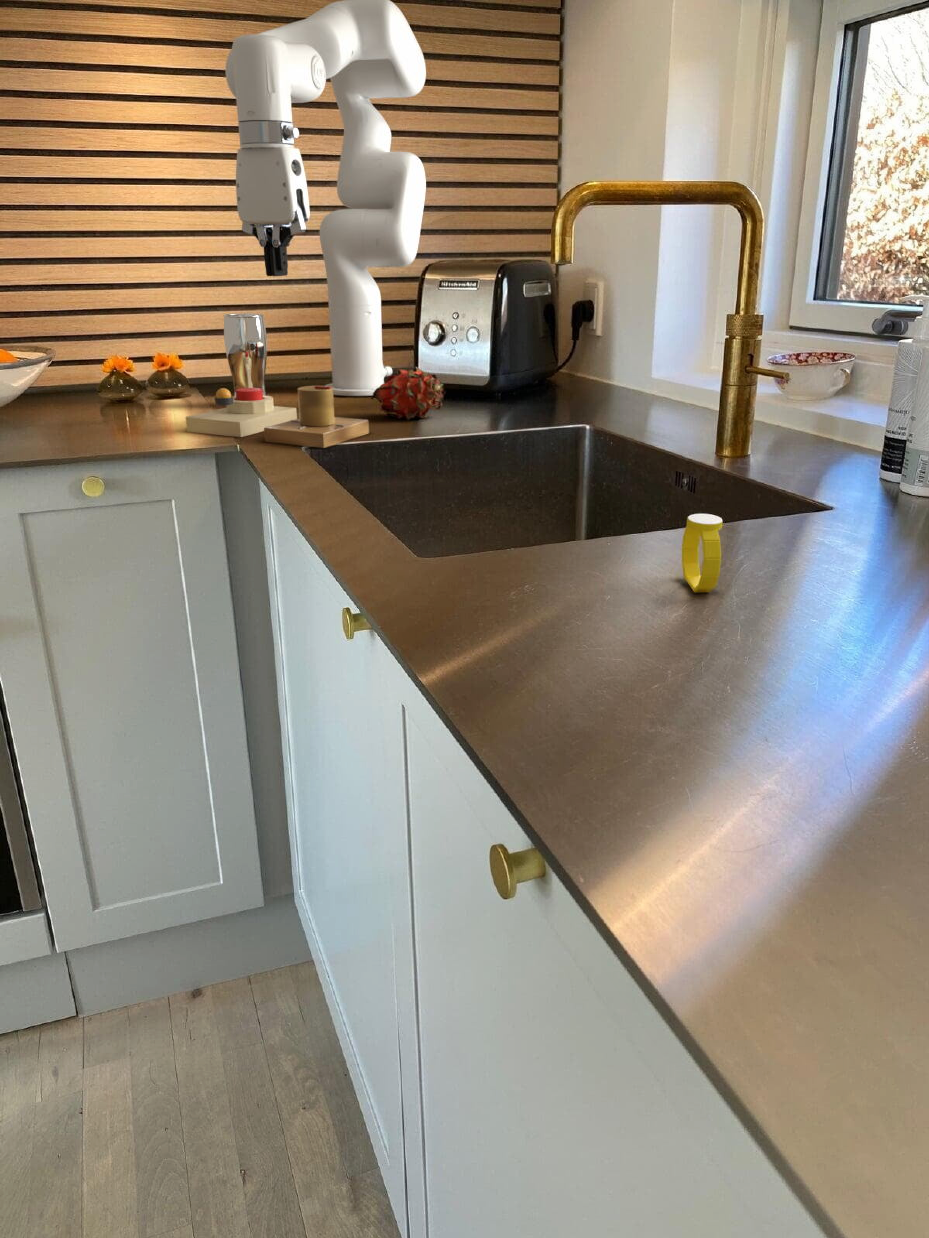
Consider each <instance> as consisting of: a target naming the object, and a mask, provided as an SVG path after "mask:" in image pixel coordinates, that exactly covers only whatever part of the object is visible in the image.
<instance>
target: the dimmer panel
mask: <svg viewBox="0 0 929 1238" xmlns="http://www.w3.org/2000/svg"><path fill="white" fill-rule="evenodd" d="M334 417H335V423H334V424H332V425H328V426H304V425H301V424H300V418H297V419H295V420H290V421H288V422H284V423H280V424H276V425H273V426H269V427H265V428H264V431H263V432H264V434H263V435H264V442H266V443H273V444H274V443H275V444H283V445H290V446H291V445H292V446H293V445H294V446H300V447H301V446H303V447H311V448H319V449H325V448H329V447H331V446H335V445H338V444H340V443H344V442H347V441H349V440H353V439H356V438H359V437H362V436H365V435H368V434H369V433H370V425H369V423H370V422H369V420H368V419H362V418H349V417H342V416H341V417H340V416H334Z"/></svg>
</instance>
